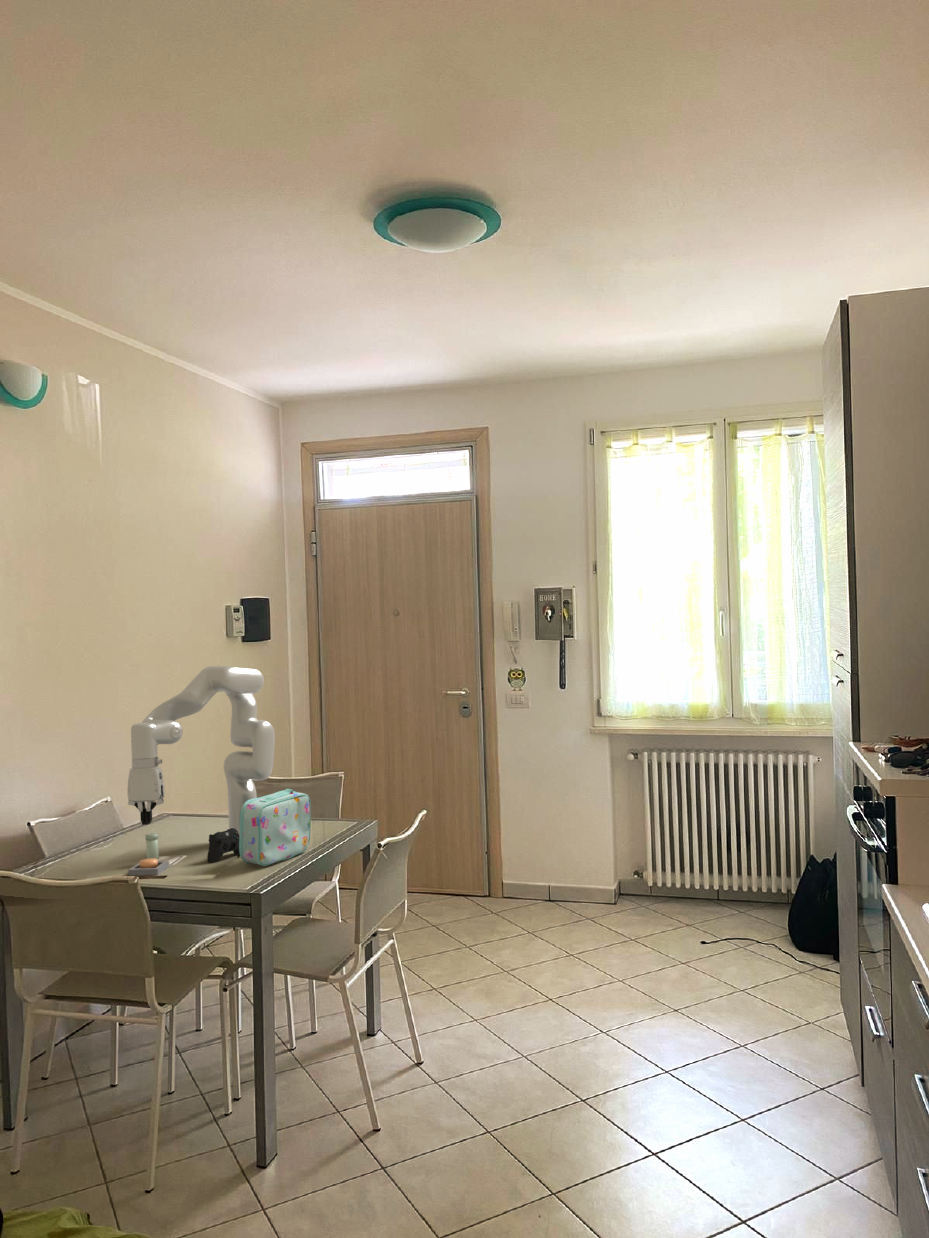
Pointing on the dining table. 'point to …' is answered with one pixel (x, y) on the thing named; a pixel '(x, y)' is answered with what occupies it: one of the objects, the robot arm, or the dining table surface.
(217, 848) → the gaming controller
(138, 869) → the button housing
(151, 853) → the pale green cylinder
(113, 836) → the dining table surface
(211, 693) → the robot arm
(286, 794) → the lunch box
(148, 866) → the button
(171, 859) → the drawing board
